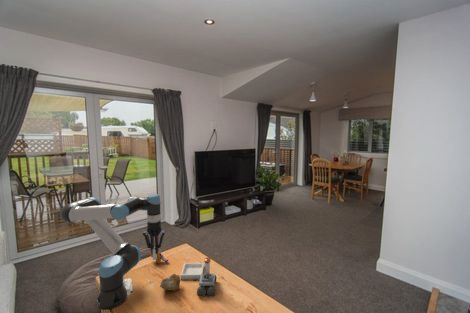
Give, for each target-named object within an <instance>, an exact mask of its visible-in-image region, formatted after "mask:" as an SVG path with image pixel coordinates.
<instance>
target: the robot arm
mask: <svg viewBox="0 0 470 313" xmlns="http://www.w3.org/2000/svg"><path fill="white" fill-rule="evenodd" d="M161 203H162V201H161V195H160V194H158V193H151V194H148V195H147V196H146V197H145V196H144V197H143V196H130V197H129V199H127V201H125V202H122V203H112V204H111V203H110V204H102V203H101V201H100V200H99V199H98V198H97V197H93V196H92V197H86V198H83V199H80V200H76V201H74V202H73V201H72V202H70V203H68V204H66V205H64V206H63V208H61V210H60V213H59V216H60V219H61V221H62V222H64V223H65V224H78V223H80V222H82V223H83V224H84V225H85V224H86V225H87V224H88V226H89V227H90V228H91V229H92V231H93V232H94V233H95V234H96V235H97V237H99V239H100V240H101V241H102V242H103V244H104V245H105V246H106V248H108V250H109V251H110V252H111V256H107V257H106V258H105V259H103V260H102V261H101V263H100V264H99V268H98V275H99V276H98V279H99V293H98V295H97V299H96V307H97V308H98V309H100V310H103V311H106V310H107V311H109V310H112V308H113V309H115V308H114V307H116V308H117V306H118V307H119V306H120V305H123V304H124V302H125V301H126V300H127V299H128V290H127V287H126V286H125V284H124V283H125V282H124V276H125V275H126V274H127V273H128V272H130V271H131V270H132V269H133V268H135V267H136V266H137V264H139V262H140V261H141V259H142V251H141V249H140V248H139V247H138V246H137V245H133V244H132V245H131V244H130V243H129V242H125V241H124V239H123V238H122V237H121V236H120V235H119V234H118V233H117V231H116V230H115V229H114V228H113V227H112V225H111V224H110V223H109V221H108V220H107V219H114V220H115V221H120V220H123V219H126V218H127V217H129V216H131V215H132V214H134V213H136V212H138V211H146V219H147V220H146V221H147V224H146V225H147V226H146V227H147V229H146V230H145V231H143V232H142V235H143V237H144V240H145V242H146V246H147V249H150V253H151V254H153V257H152V260H153V261H156V258H157V254H158V249H160V248H161V247H162V246H163V240H164V236H165V234H166V232H167V231H166V230H165V231H164V230H163V229H162V221H161V219H162V214H161V212H162V211H161V205H162V204H161ZM159 235H160V238H159Z"/></svg>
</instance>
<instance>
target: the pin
mask: <svg viewBox="0 0 470 313" xmlns="http://www.w3.org/2000/svg"><path fill="white" fill-rule="evenodd" d="M203 263H204V274H205V279H209V278H210V274H211V273H210V270H211V269H210V268H211V267H210V266H211V265H210V264H211V258H210V257H205V258H204V259H203Z"/></svg>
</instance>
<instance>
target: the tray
mask: <svg viewBox="0 0 470 313" xmlns="http://www.w3.org/2000/svg"><path fill="white" fill-rule="evenodd" d="M204 271H205V262H184V263H183V266H182V270H181V272H180V274H179V276H180V281H181V280H199V277H200V275H201V274H204Z"/></svg>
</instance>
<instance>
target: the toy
mask: <svg viewBox="0 0 470 313" xmlns="http://www.w3.org/2000/svg"><path fill="white" fill-rule="evenodd" d="M159 249H160V248H158V254H157V258H156V260H155V264H157V263H158V265H159V264H160V263H161V261H163V262H164V264H167V263H169V262H168V261H169V260H170V259H166V258H165V256H164V255H163V254H162V249H160V250H159ZM149 255H150V256H151V258H153V254H151V252H150V253H149Z"/></svg>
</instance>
